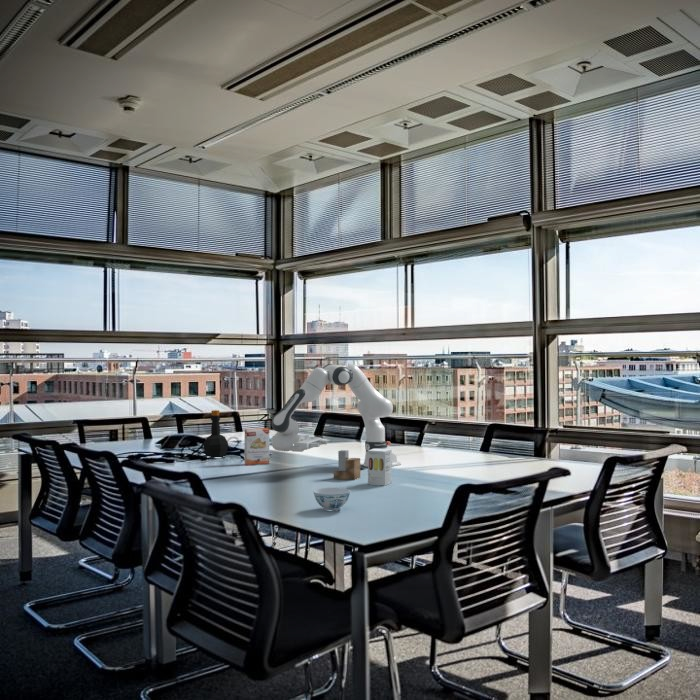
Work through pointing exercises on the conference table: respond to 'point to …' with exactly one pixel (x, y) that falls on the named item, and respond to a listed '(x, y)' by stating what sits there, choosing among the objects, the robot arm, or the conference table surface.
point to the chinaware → (331, 497)
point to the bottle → (215, 439)
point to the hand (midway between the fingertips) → (322, 443)
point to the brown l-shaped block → (349, 469)
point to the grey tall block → (342, 459)
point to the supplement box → (379, 466)
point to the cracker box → (256, 446)
